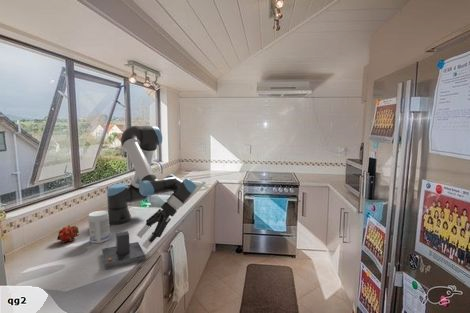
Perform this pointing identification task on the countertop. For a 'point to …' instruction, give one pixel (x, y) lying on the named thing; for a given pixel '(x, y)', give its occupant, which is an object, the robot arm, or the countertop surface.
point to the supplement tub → (99, 226)
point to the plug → (122, 243)
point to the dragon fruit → (68, 233)
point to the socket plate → (122, 256)
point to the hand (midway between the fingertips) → (141, 241)
